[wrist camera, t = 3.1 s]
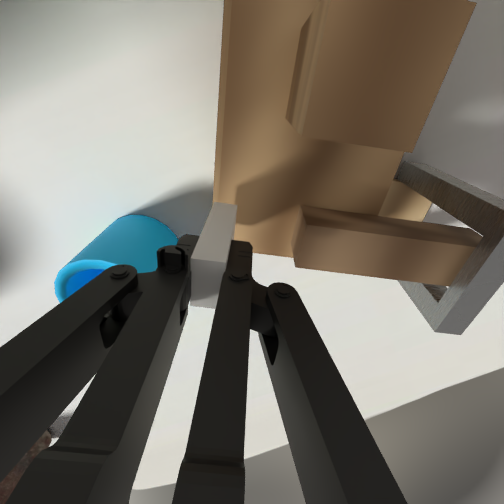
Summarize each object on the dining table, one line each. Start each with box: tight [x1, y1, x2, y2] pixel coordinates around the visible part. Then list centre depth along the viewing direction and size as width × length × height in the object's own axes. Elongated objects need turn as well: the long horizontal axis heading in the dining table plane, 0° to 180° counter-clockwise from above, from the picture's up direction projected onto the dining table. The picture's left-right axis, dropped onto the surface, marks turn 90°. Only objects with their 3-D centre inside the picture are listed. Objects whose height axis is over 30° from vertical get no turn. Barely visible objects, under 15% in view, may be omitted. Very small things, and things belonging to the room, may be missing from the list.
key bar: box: [291, 205, 482, 286], centre depth 17 cm, size 12×3×3 cm, turn 82°
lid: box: [218, 0, 476, 258], centre depth 13 cm, size 11×18×8 cm, turn 172°
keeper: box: [397, 161, 504, 335], centre depth 20 cm, size 2×8×12 cm, turn 173°
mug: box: [54, 215, 178, 303], centre depth 26 cm, size 12×8×8 cm
